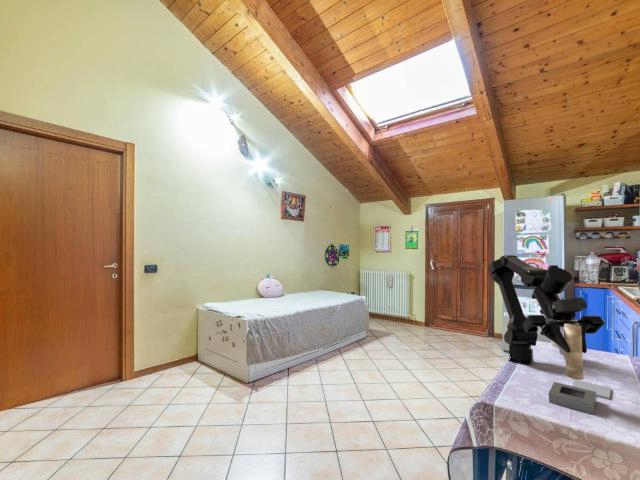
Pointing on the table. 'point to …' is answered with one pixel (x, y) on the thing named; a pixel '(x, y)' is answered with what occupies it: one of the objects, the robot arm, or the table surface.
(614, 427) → the table surface
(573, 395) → the eye block
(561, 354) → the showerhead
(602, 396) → the mat
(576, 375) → the peg
